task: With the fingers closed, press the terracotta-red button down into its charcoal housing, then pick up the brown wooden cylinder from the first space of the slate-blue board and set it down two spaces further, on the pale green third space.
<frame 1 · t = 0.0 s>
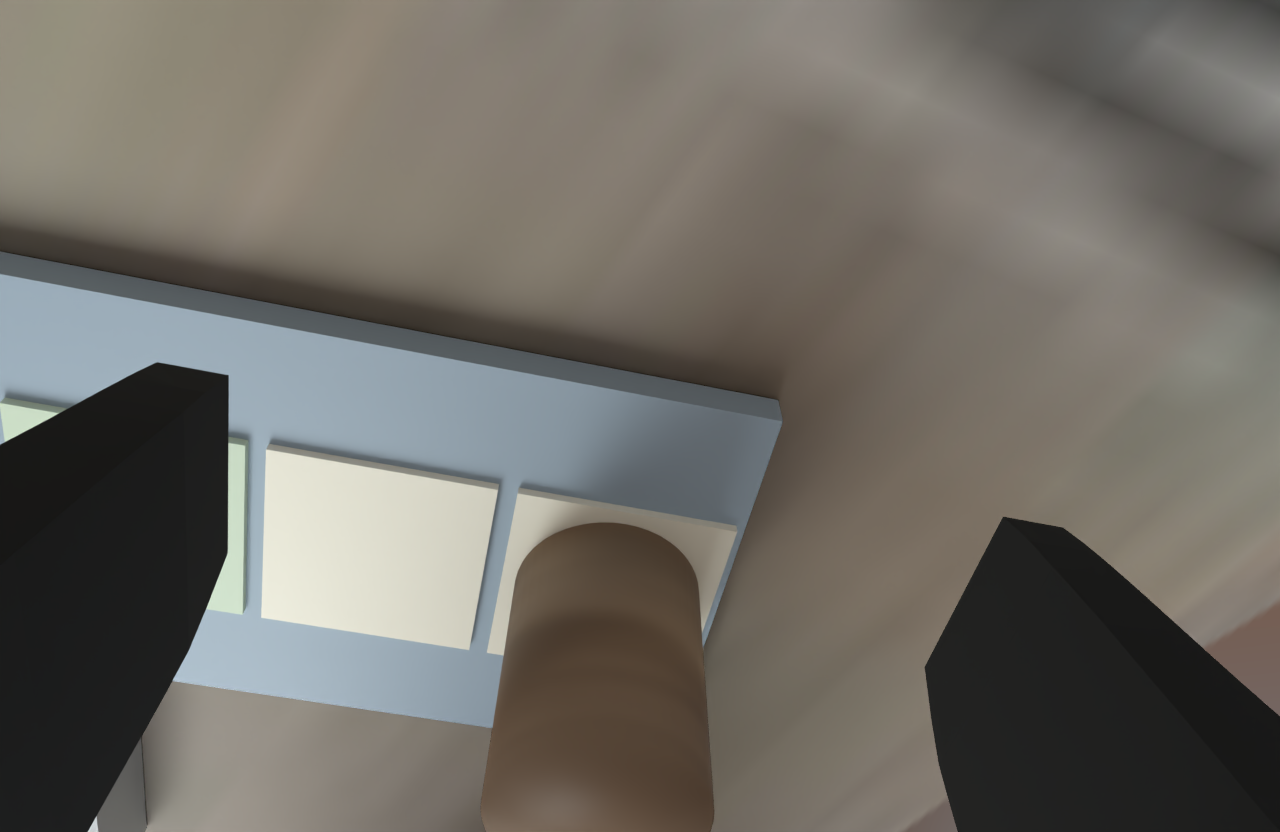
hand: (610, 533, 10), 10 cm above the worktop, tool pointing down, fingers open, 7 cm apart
button housing: (21, 739, 26), on the worktop
brown wooden cylinder: (606, 594, 22), point 1 cm above the worktop, touching board
board: (268, 507, 22), on the worktop
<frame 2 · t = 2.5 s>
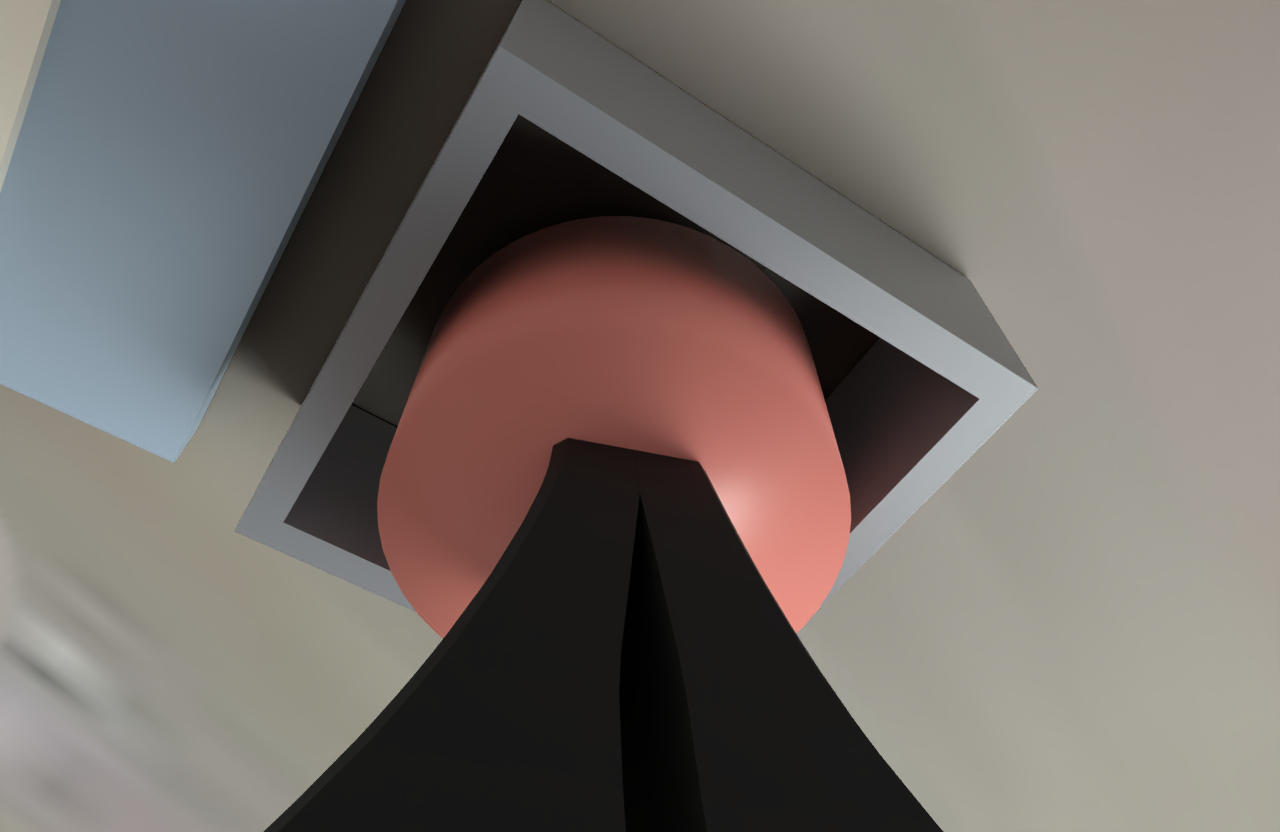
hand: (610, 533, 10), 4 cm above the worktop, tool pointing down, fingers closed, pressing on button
button housing: (621, 346, 13), on the worktop
button: (617, 461, 11), point 2 cm above the worktop, slide at 0.5 cm, touching gripper
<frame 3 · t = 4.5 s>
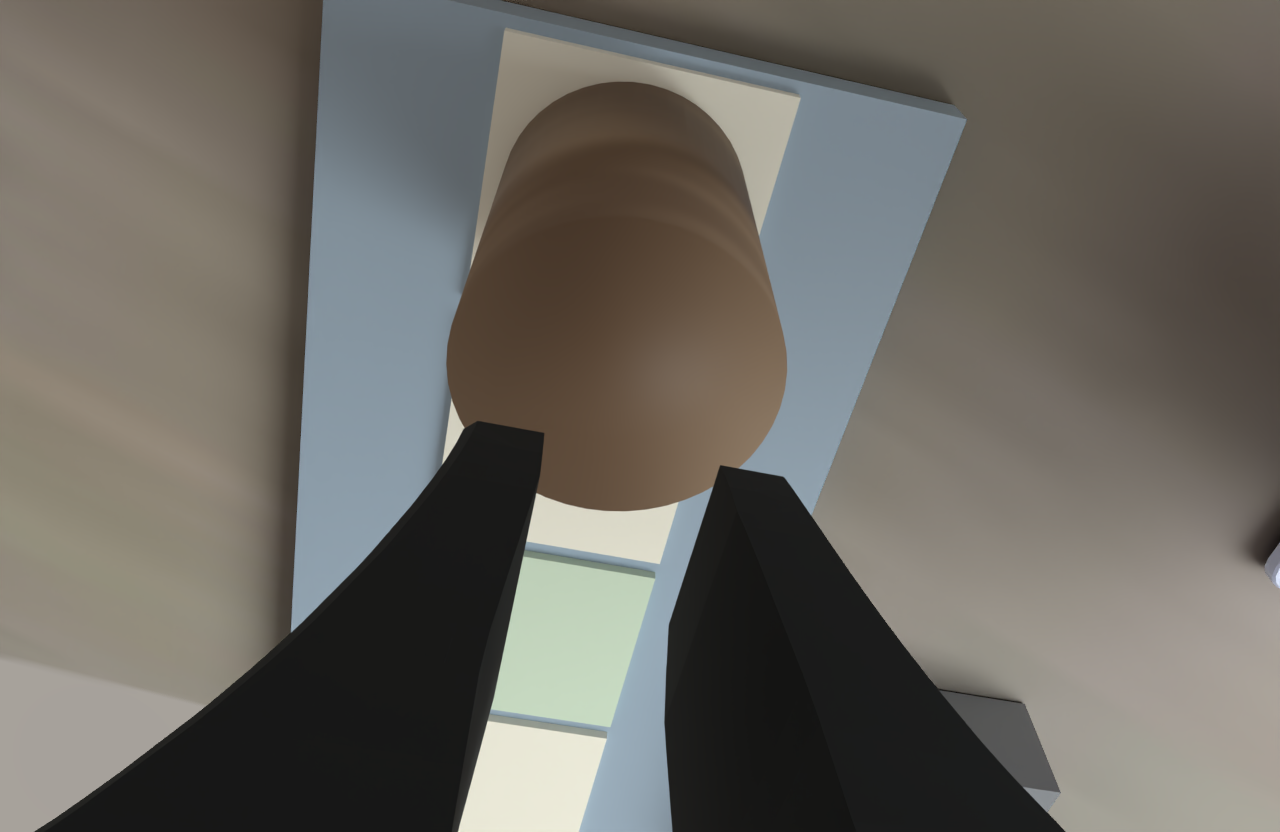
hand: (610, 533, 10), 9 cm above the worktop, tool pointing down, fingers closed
button housing: (863, 766, 26), on the worktop
brown wooden cylinder: (623, 206, 17), point 1 cm above the worktop, touching board
board: (550, 521, 21), on the worktop
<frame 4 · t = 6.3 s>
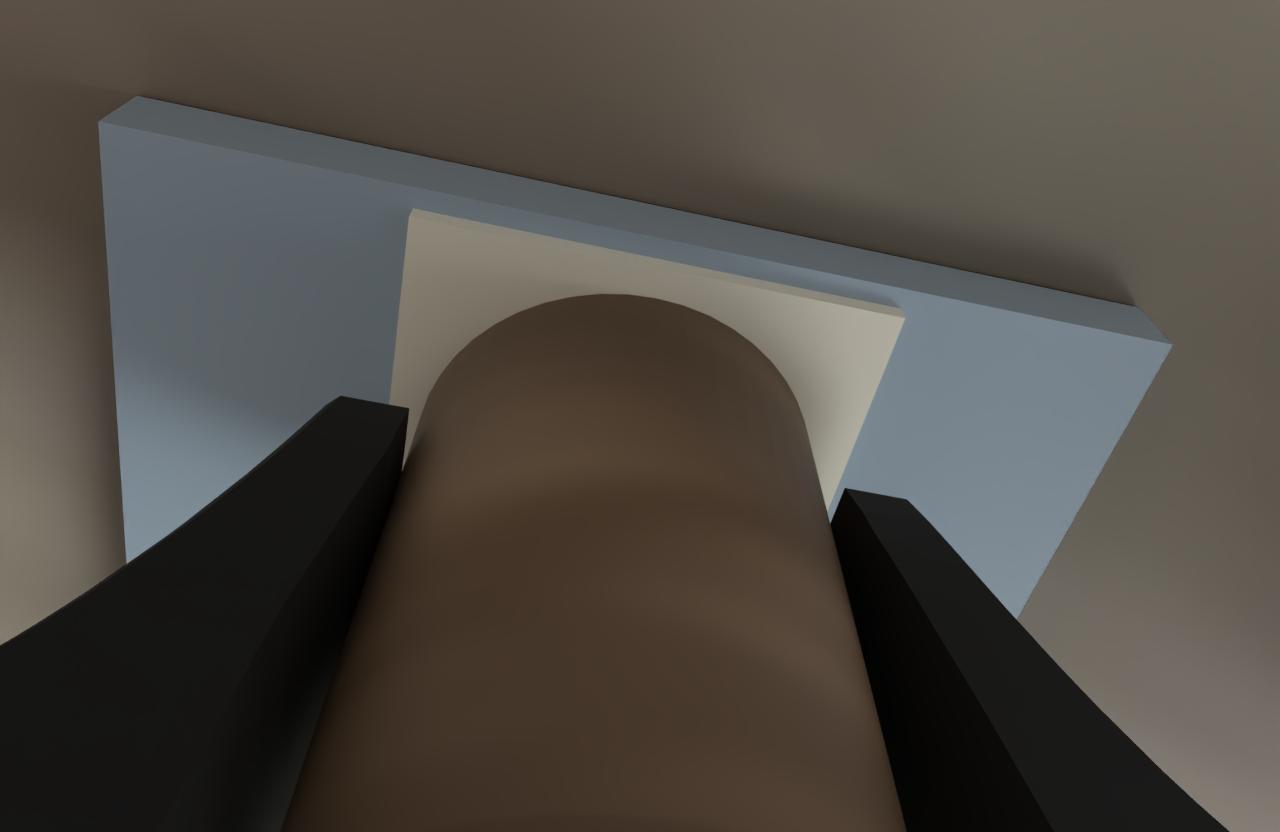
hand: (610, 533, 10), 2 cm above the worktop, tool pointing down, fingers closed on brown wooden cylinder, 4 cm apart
brown wooden cylinder: (612, 471, 10), point 1 cm above the worktop, touching board, gripper
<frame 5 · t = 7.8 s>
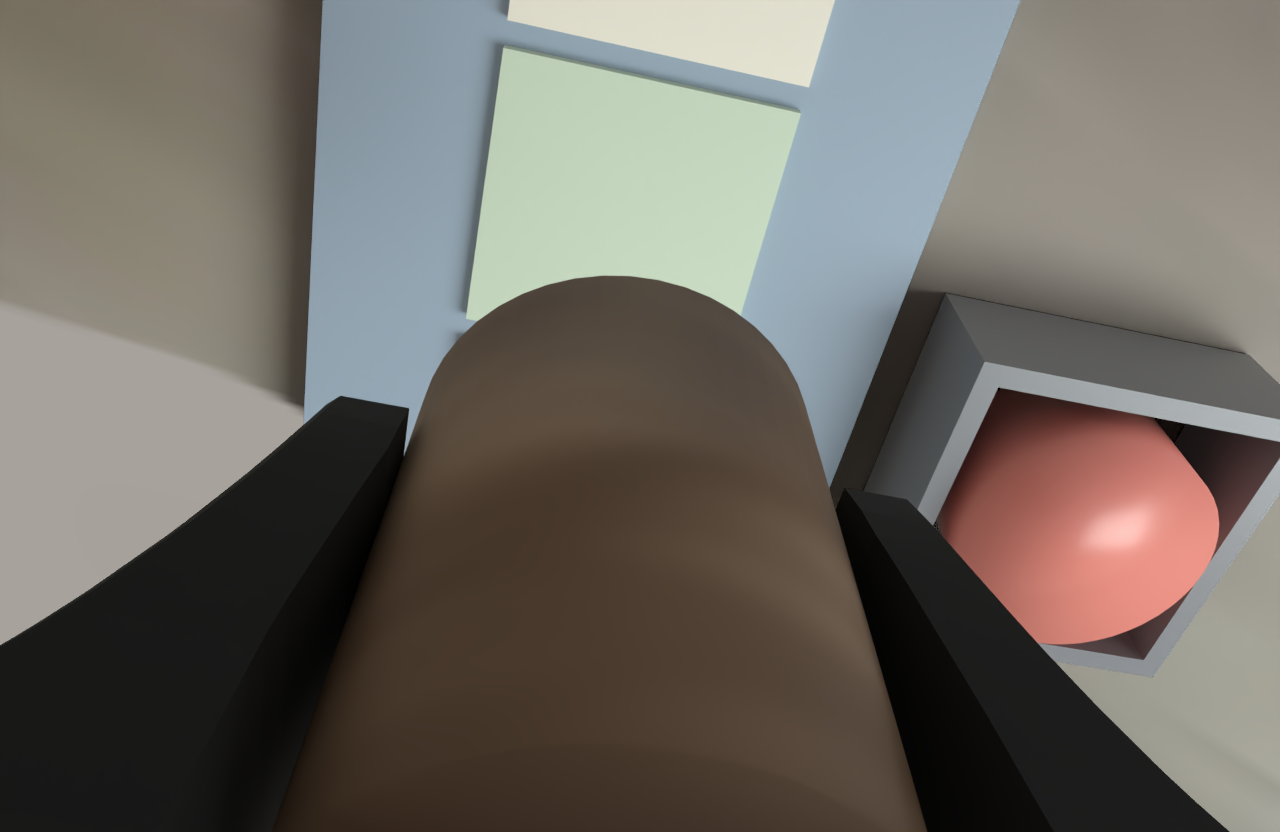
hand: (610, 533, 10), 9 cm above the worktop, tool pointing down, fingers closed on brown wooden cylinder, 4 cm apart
button housing: (1032, 456, 20), on the worktop
brown wooden cylinder: (614, 456, 10), point 8 cm above the worktop, touching gripper
board: (656, 51, 16), on the worktop
button: (1063, 510, 19), point 2 cm above the worktop, slide at 1.2 cm
when the fingers open (3 cm above the worktop, at t = 9.4 s): brown wooden cylinder stays where it is, resting on board.
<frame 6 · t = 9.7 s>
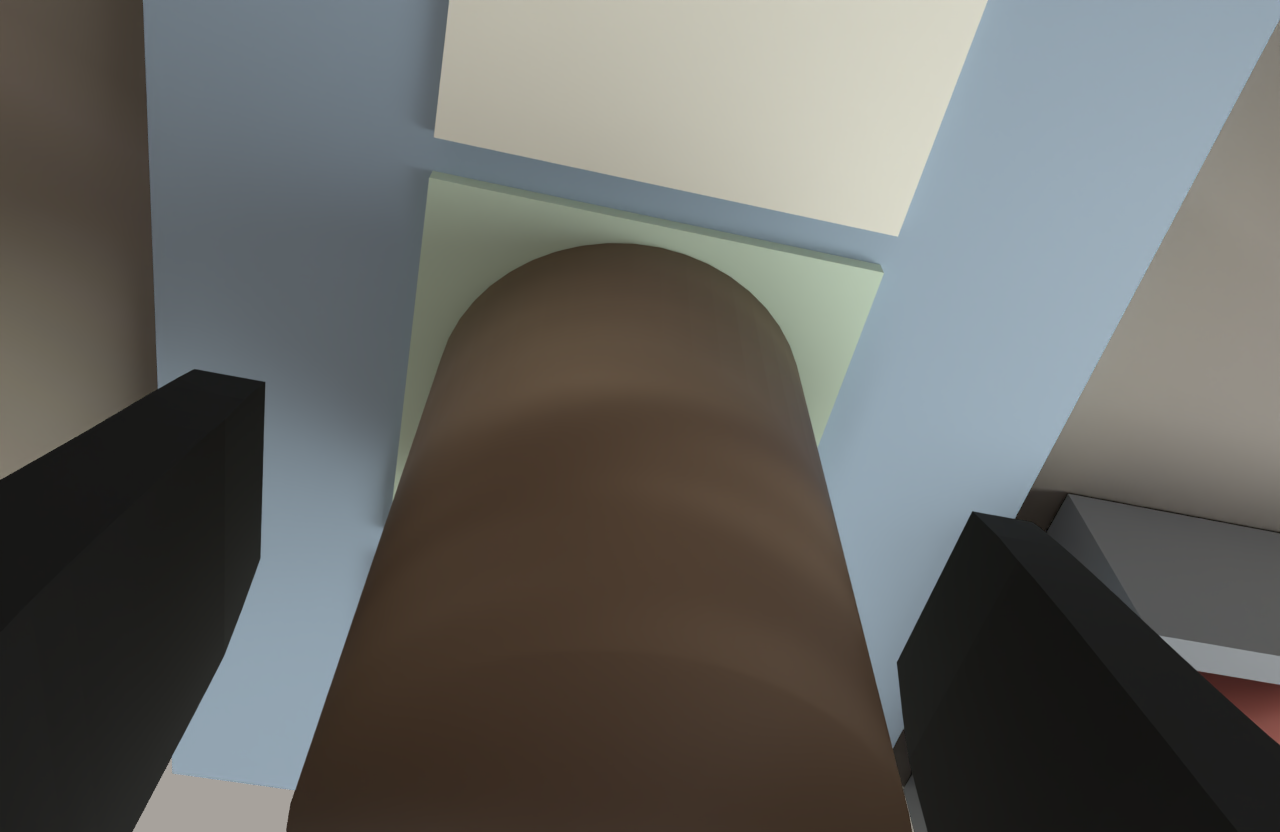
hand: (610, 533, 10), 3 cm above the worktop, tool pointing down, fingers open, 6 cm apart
button housing: (1168, 689, 15), on the worktop
brown wooden cylinder: (618, 412, 11), point 1 cm above the worktop, touching board
board: (665, 173, 11), on the worktop
button: (1226, 791, 14), point 2 cm above the worktop, slide at 1.2 cm
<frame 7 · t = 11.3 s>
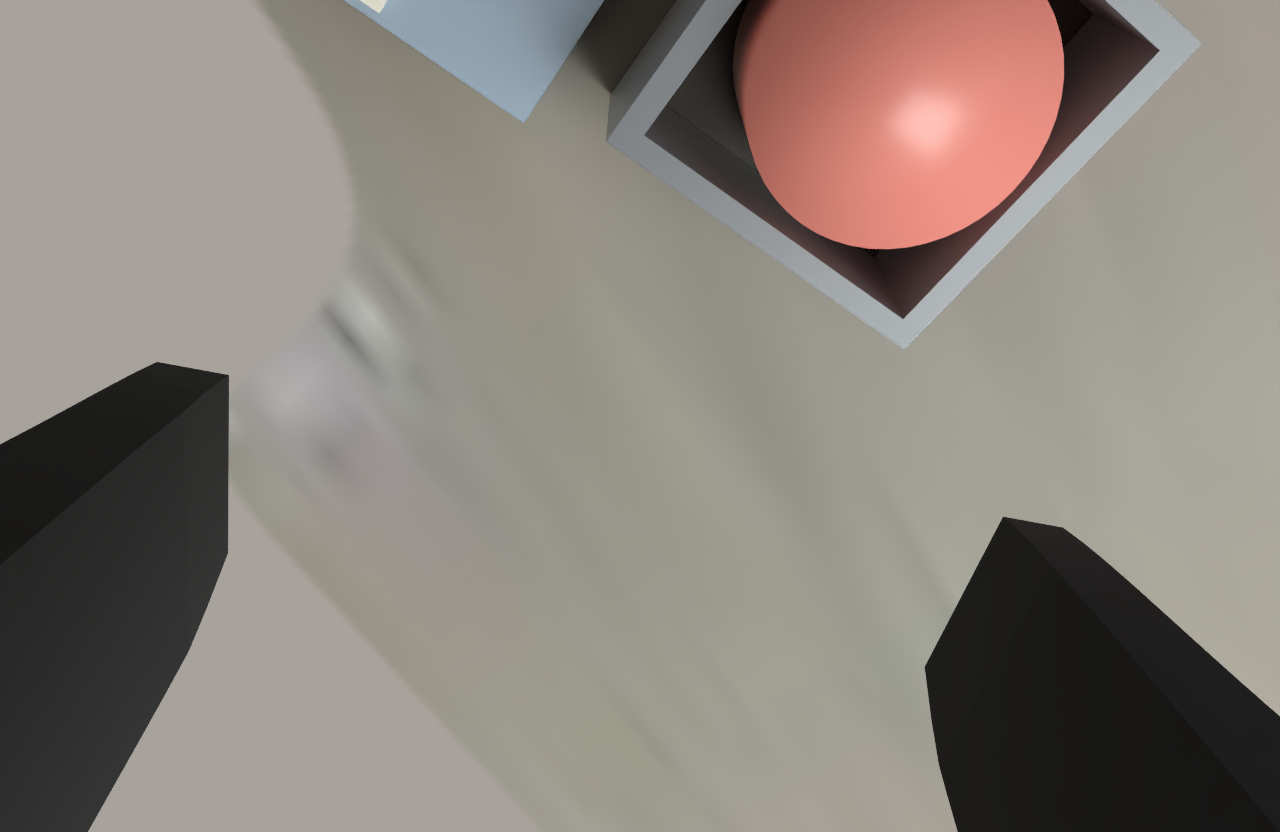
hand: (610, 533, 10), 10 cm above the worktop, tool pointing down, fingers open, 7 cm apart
button housing: (864, 52, 17), on the worktop
button: (885, 80, 15), point 2 cm above the worktop, slide at 1.2 cm
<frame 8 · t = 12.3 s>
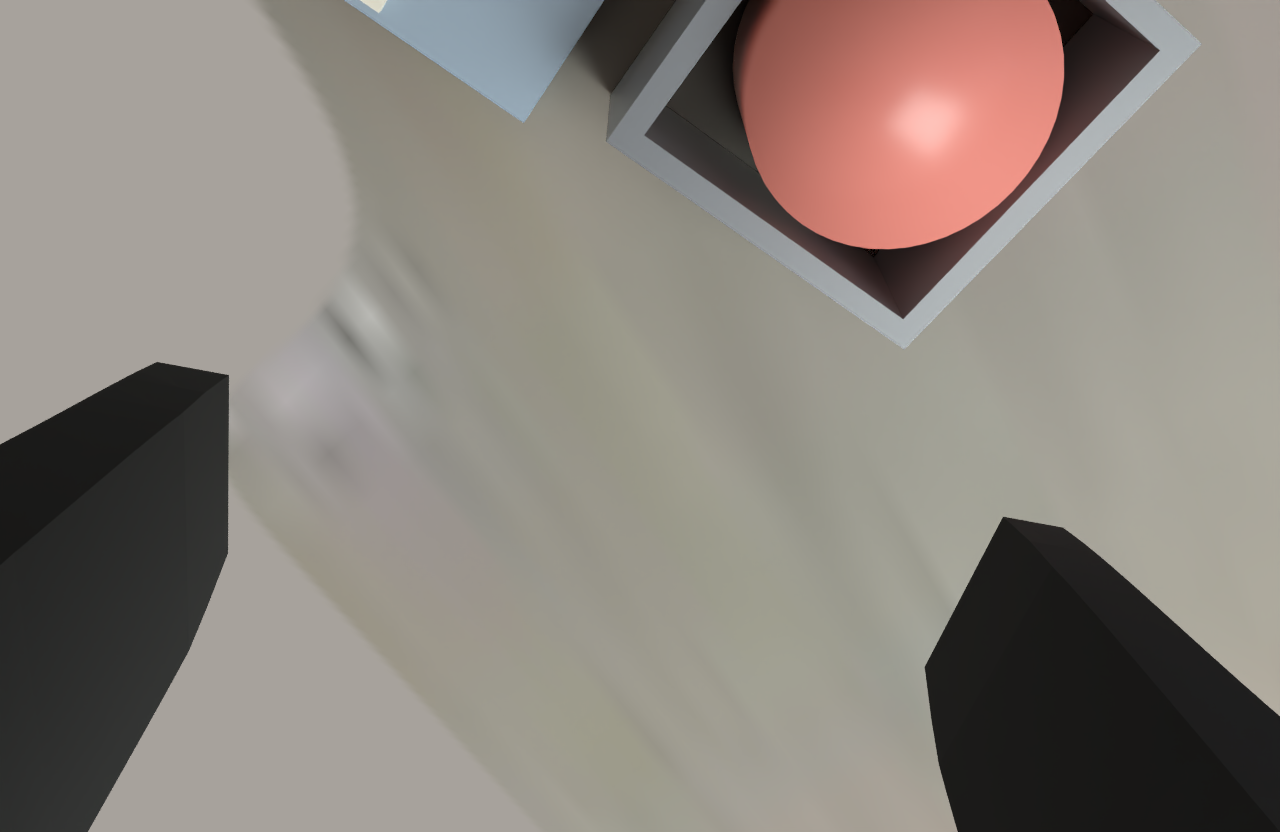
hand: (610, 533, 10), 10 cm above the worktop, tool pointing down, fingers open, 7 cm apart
button housing: (864, 52, 17), on the worktop
button: (885, 80, 15), point 2 cm above the worktop, slide at 1.2 cm
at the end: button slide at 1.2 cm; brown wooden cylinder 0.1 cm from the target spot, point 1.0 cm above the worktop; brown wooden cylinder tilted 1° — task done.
